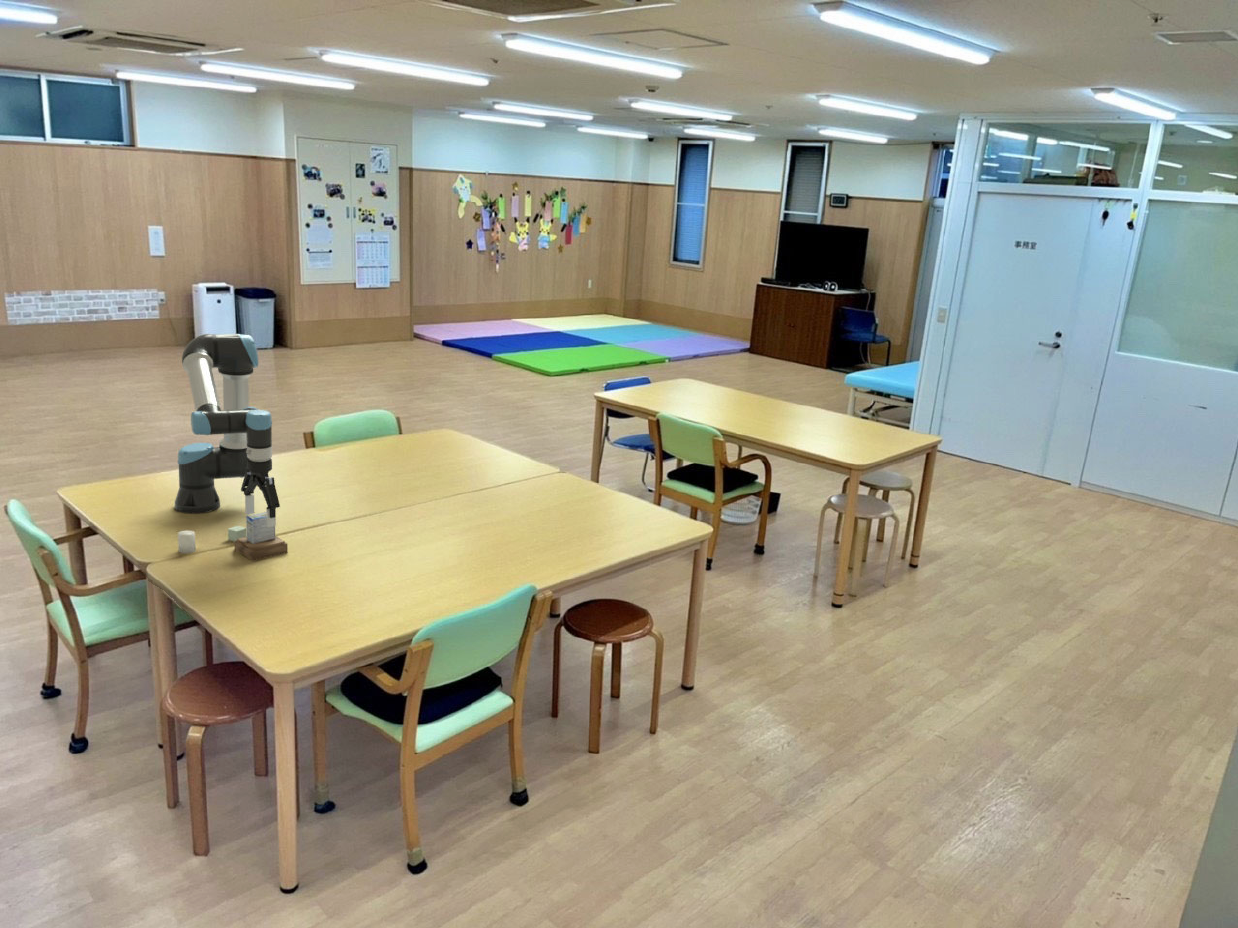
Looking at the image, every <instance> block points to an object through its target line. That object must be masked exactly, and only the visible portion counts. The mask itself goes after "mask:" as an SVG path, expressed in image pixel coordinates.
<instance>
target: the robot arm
mask: <svg viewBox="0 0 1238 928" xmlns="http://www.w3.org/2000/svg"><path fill="white" fill-rule="evenodd" d="M181 363H182V368H183V370H184V371H185V372H186V373H187V377H188V380H189V385H190V389H191V394H192V395H191V396H192V399H193V403H194V409H195V411H193V412H191V414H190V425H191V431H192V433H193V434H194V435H196V436H197V435H198V436H199V435H201V436H202V435H203V436H211V435H212V436H214V435H223V438H222V439H221V440H220V441H219V443H218V444H219V446H217V447H214V446H213V445H214V444H213V443H210V442H195V443H192V444H191V443H190V444H187V445H185V446H182V447H181V448H180V449H179V450H178V453H177V454H178V455H177V464H178V490H177V493H176V497H175V500H174V509H175V510H176V511H178V512H179V513H185V514H205V513H209V512H213V511H216V510H218V509H219V508H220V507H221V499H220V497H219V495H218V492H217V490H216V487H215V480H217V479H235V478H238V479H239V478H241V479H242V478H243V481H242V484H241V488H240V491H241V492H243V495H244V504H245V505H244V506H245V507H244V508H245V513H244V514H245V515H246V516H249V515H253V514H255V490H256V488H257V487H258V489H259V490H260V491H261V493H262V494H263V498H264V500H265V502H266V506H267V507H265V508H266V511H265V512H267V527H272V526H275V527H276V525H277V524H276V523H277V522H276V521H277V519H276V515H277V514H276V513H277V512H276V509H277V508H281V504H280V501H279V495H278V492H277V489H276V484H275V477H273V476H272V477H270V476H269V472H271V471H272V470H273V459H272V458H273V444H272V443H273V442H272V441H273V440H272V439H273V438H272V437H273V436H272V435H273V433H272V429H273V428H272V426H273V421H272V414H271V412H270V411H268V410H264V409H258V408H257V407H255V406H250V385H249V383H250V382H249V381H250V376H252V375H253V374H254V369H256V368H258V367H259V355H258V351H257V345H256V342H255V340H254V337H252V336H251V335H250V334H241V333H235V334H234V333H228V334H227V333H226V334H219V333H218V334H216V333H212V334H211V333H206V334H201V335H198V336H196V337H195V338H193V339H192V340H191V341H189V343H188V344H187V345H186V346H185V347H184V350H183V352H182V355H181ZM215 368H216V369H217V372H218V373H219V374H220V375H221V376H222V393H223V395H222V397H223V398H222V399H223V404H222V405H223V407H222V408H221V403H220V398H219V395H218V391H217V386H216V381H215V379H214V374H213V369H215ZM222 409H223V410H222Z"/></svg>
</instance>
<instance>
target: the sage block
mask: <svg viewBox="0 0 1238 928" xmlns="http://www.w3.org/2000/svg"><path fill="white" fill-rule="evenodd" d="M246 536H247V527H243V526H241V525H235V526H232V527H229V528H227V539H228V541H231V542H234V543H235V540H237V538H242V537H246Z"/></svg>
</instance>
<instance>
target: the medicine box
mask: <svg viewBox="0 0 1238 928" xmlns="http://www.w3.org/2000/svg"><path fill="white" fill-rule="evenodd" d="M245 518H246V521H245V522H246V523H245V524H246V527H245V528H246V536H247V540H248V541H249V542H251V543H253V544H255V543H259V542H263V541H267V540H271V539H275V536H276V526H272V527H267V512H266V511H264V512H258V513H253V514H248V515H246V517H245Z"/></svg>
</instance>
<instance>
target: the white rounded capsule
mask: <svg viewBox="0 0 1238 928" xmlns="http://www.w3.org/2000/svg"><path fill="white" fill-rule="evenodd" d="M177 545H178V547H177V548H178V553H180V554H191V553H194V552H195V551H196V532H195V531H193V530H181V531H179V532H178V533H177Z"/></svg>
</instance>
